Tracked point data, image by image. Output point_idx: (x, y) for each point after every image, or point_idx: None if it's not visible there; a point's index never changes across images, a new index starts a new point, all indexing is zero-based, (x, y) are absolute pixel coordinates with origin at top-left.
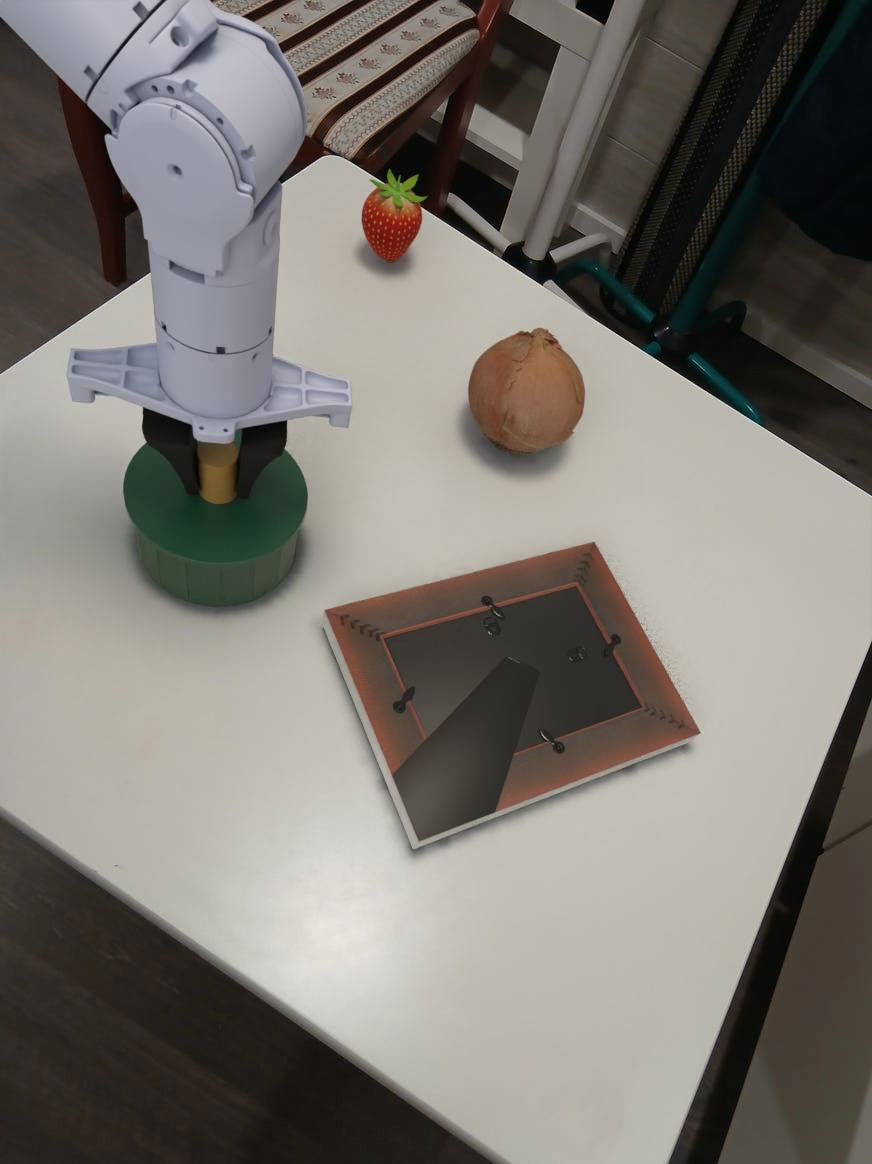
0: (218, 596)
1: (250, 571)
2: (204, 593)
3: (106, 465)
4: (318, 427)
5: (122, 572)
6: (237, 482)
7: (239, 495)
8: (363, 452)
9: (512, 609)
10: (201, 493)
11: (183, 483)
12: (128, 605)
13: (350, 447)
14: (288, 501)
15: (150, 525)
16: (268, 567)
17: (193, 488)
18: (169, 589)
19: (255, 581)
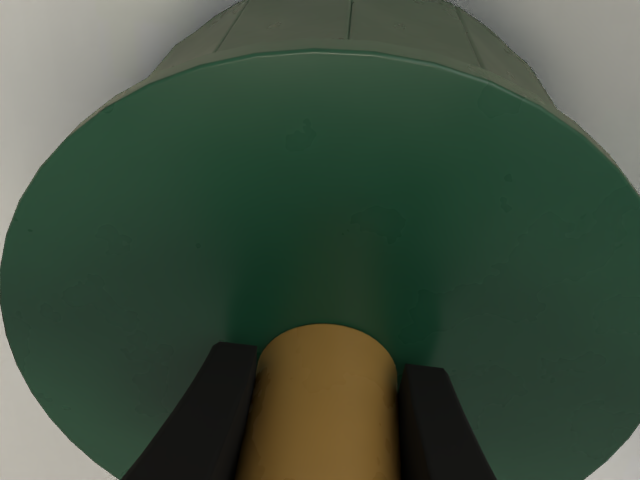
0: None
1: (229, 46)
2: (408, 5)
3: None
4: None
5: (618, 121)
6: (244, 417)
7: (242, 361)
8: (2, 392)
9: None
10: (389, 367)
11: (472, 437)
12: (637, 4)
13: (33, 403)
14: (71, 319)
15: (613, 256)
16: None
17: (427, 405)
18: (507, 47)
19: (225, 27)
